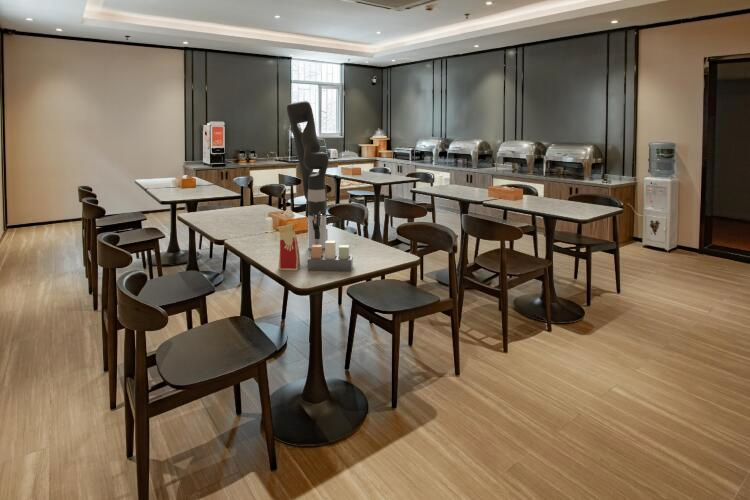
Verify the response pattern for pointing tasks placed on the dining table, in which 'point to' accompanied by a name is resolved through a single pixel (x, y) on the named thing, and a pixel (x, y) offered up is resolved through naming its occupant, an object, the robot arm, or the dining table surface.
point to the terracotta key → (316, 251)
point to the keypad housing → (330, 264)
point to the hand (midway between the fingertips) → (317, 238)
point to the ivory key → (330, 249)
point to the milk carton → (288, 249)
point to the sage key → (344, 252)
